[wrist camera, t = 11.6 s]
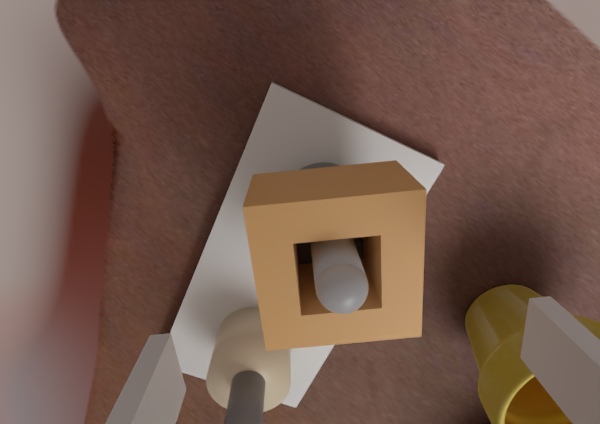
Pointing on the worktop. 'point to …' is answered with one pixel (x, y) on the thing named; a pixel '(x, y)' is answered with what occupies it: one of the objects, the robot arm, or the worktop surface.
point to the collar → (331, 226)
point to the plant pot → (510, 358)
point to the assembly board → (229, 237)
